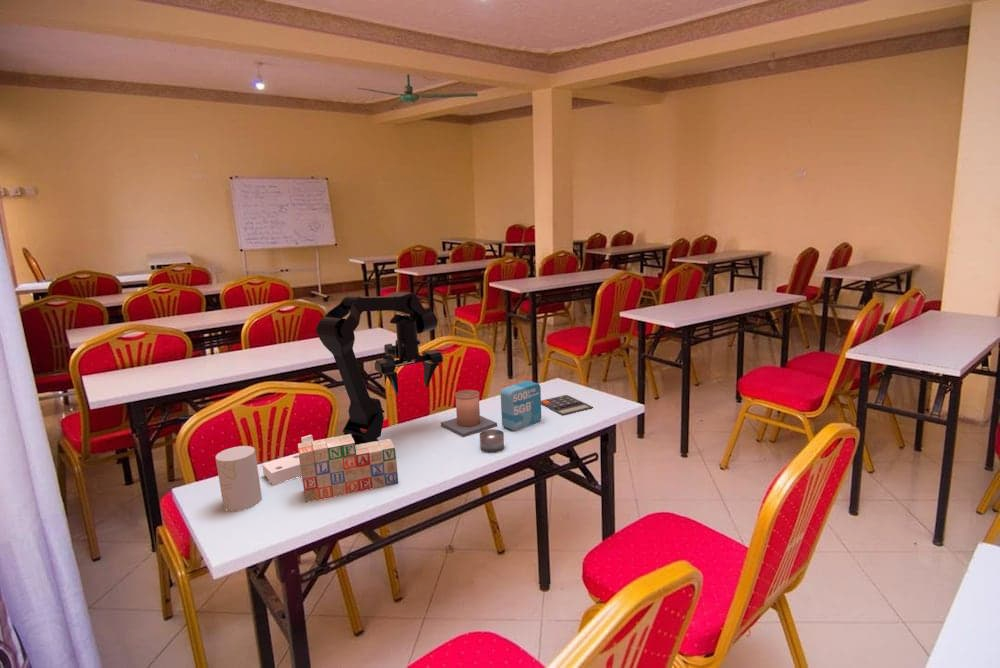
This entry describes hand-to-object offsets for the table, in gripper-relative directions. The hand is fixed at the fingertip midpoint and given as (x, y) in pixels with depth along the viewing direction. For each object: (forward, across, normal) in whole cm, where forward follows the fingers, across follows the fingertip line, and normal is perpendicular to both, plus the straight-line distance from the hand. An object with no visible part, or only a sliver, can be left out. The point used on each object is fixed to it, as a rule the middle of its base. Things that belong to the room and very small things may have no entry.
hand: (411, 390), depth 169 cm
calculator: (+14, -48, +9) cm, 51 cm away
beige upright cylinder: (+13, +49, +13) cm, 52 cm away
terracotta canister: (+12, -15, +5) cm, 20 cm away
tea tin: (+13, -12, +23) cm, 29 cm away
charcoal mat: (+13, -15, +5) cm, 20 cm away
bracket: (+14, +35, +4) cm, 38 cm away
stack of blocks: (+13, +26, +21) cm, 36 cm away
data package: (+13, -28, +14) cm, 34 cm away
